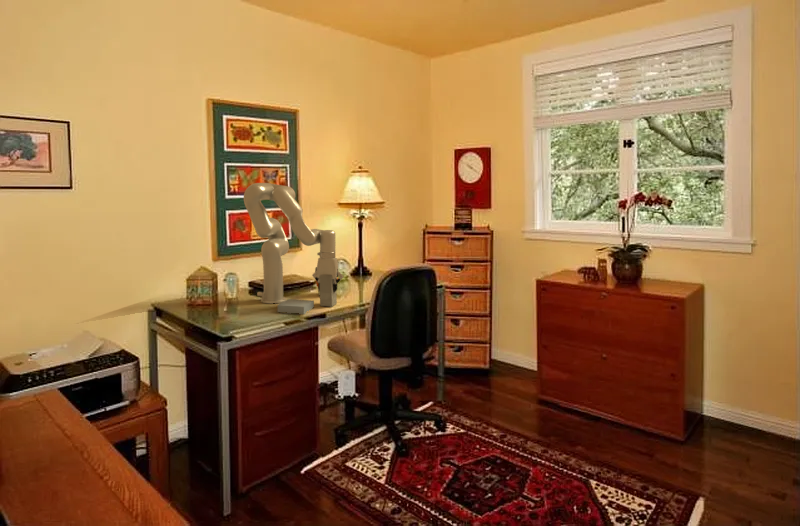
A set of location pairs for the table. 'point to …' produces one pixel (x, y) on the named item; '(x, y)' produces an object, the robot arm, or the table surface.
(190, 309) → the table surface
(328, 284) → the skincare box
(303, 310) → the slate block
